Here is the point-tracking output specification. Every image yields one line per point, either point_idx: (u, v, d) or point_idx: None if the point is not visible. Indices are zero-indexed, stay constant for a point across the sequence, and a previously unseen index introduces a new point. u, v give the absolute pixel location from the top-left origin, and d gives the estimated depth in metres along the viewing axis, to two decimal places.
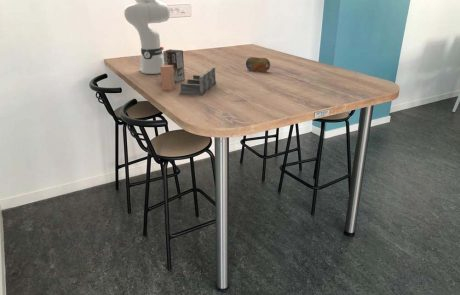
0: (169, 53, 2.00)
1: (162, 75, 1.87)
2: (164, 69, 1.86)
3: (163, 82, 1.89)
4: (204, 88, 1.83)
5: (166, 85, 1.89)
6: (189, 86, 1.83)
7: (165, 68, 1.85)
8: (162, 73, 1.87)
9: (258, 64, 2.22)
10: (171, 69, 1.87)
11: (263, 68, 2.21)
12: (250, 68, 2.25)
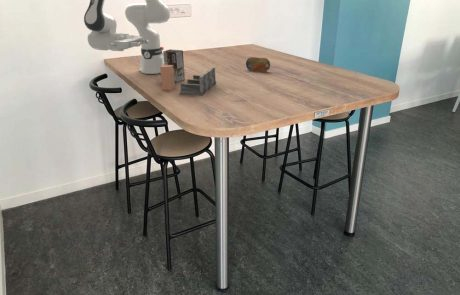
0: (169, 53, 2.00)
1: (162, 75, 1.87)
2: (164, 69, 1.86)
3: (163, 82, 1.89)
4: (204, 88, 1.83)
5: (166, 85, 1.89)
6: (189, 86, 1.83)
7: (165, 68, 1.85)
8: (162, 73, 1.87)
9: (258, 64, 2.22)
10: (171, 69, 1.87)
11: (263, 68, 2.21)
12: (250, 68, 2.25)
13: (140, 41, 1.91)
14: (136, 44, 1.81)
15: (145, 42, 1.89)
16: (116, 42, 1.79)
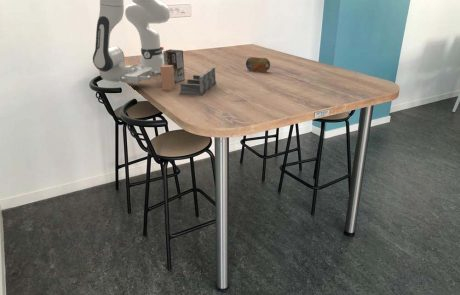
0: (169, 53, 2.00)
1: (162, 75, 1.87)
2: (164, 69, 1.86)
3: (163, 82, 1.89)
4: (204, 88, 1.83)
5: (166, 85, 1.89)
6: (189, 86, 1.83)
7: (165, 68, 1.85)
8: (162, 73, 1.87)
9: (258, 64, 2.22)
10: (171, 69, 1.87)
11: (263, 68, 2.21)
12: (250, 68, 2.25)
13: (150, 72, 1.97)
14: (146, 78, 1.87)
15: (154, 74, 1.95)
16: (126, 76, 1.85)
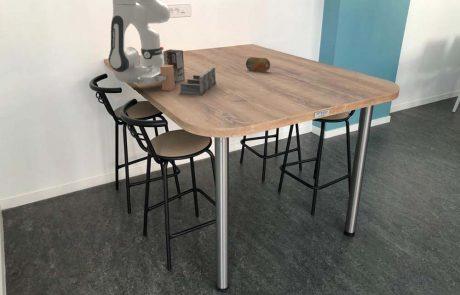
0: (169, 53, 2.00)
1: (162, 75, 1.87)
2: (164, 69, 1.86)
3: (163, 82, 1.89)
4: (204, 88, 1.83)
5: (166, 85, 1.89)
6: (189, 86, 1.83)
7: (165, 68, 1.85)
8: (162, 73, 1.87)
9: (258, 64, 2.22)
10: (171, 69, 1.87)
11: (263, 68, 2.21)
12: (250, 68, 2.25)
13: None
14: (163, 78, 1.86)
15: None
16: (142, 77, 1.83)
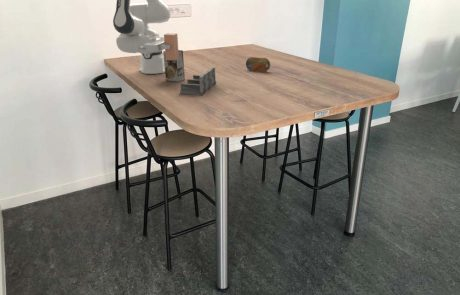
0: None
1: (166, 44, 1.80)
2: (168, 38, 1.78)
3: (167, 51, 1.81)
4: (204, 88, 1.83)
5: (170, 55, 1.81)
6: (189, 86, 1.83)
7: (169, 36, 1.78)
8: (166, 42, 1.79)
9: (258, 64, 2.22)
10: (175, 38, 1.79)
11: (263, 68, 2.21)
12: (250, 68, 2.25)
13: None
14: (167, 46, 1.78)
15: None
16: (145, 45, 1.75)
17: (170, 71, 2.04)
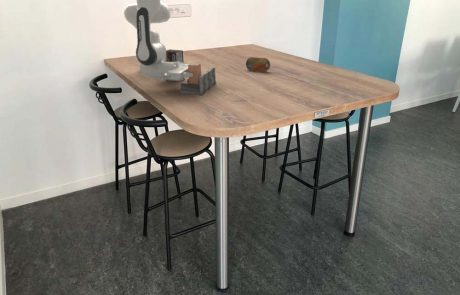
0: (169, 53, 2.00)
1: None
2: (192, 68, 1.81)
3: (190, 81, 1.84)
4: (204, 88, 1.83)
5: None
6: (189, 86, 1.83)
7: (193, 66, 1.81)
8: None
9: (258, 64, 2.22)
10: (199, 67, 1.83)
11: (263, 68, 2.21)
12: (250, 68, 2.25)
13: None
14: (190, 74, 1.80)
15: None
16: (170, 73, 1.78)
17: None
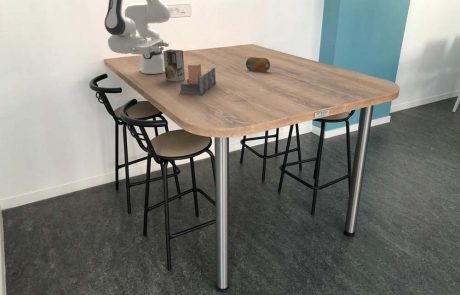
0: (169, 53, 2.00)
1: (190, 74, 1.83)
2: (192, 68, 1.81)
3: (190, 81, 1.84)
4: (204, 88, 1.83)
5: None
6: (189, 86, 1.83)
7: (193, 66, 1.81)
8: (190, 72, 1.82)
9: (258, 64, 2.22)
10: (199, 67, 1.83)
11: (263, 68, 2.21)
12: (250, 68, 2.25)
13: (160, 44, 1.89)
14: (157, 49, 1.79)
15: (165, 45, 1.87)
16: (137, 47, 1.77)
17: (170, 71, 2.04)
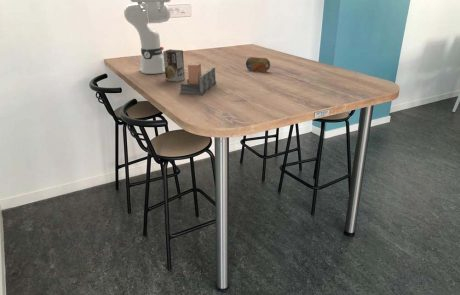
0: (169, 53, 2.00)
1: (190, 74, 1.83)
2: (192, 68, 1.81)
3: (190, 81, 1.84)
4: (204, 88, 1.83)
5: None
6: (189, 86, 1.83)
7: (193, 66, 1.81)
8: (190, 72, 1.82)
9: (258, 64, 2.22)
10: (199, 67, 1.83)
11: (263, 68, 2.21)
12: (250, 68, 2.25)
13: (141, 2, 1.80)
14: (161, 9, 1.79)
15: (143, 9, 1.81)
16: None
17: (170, 71, 2.04)
